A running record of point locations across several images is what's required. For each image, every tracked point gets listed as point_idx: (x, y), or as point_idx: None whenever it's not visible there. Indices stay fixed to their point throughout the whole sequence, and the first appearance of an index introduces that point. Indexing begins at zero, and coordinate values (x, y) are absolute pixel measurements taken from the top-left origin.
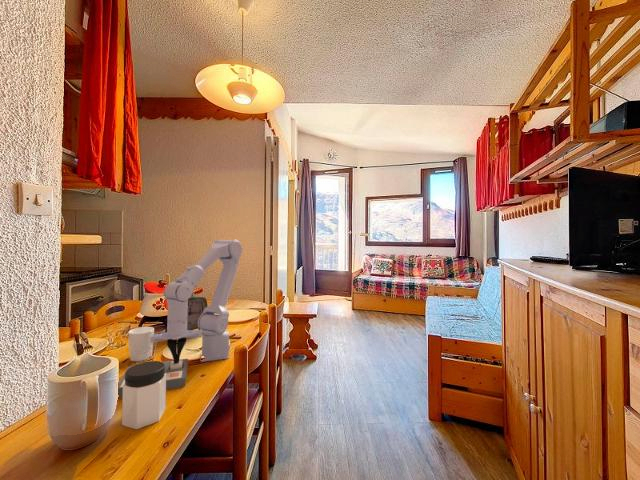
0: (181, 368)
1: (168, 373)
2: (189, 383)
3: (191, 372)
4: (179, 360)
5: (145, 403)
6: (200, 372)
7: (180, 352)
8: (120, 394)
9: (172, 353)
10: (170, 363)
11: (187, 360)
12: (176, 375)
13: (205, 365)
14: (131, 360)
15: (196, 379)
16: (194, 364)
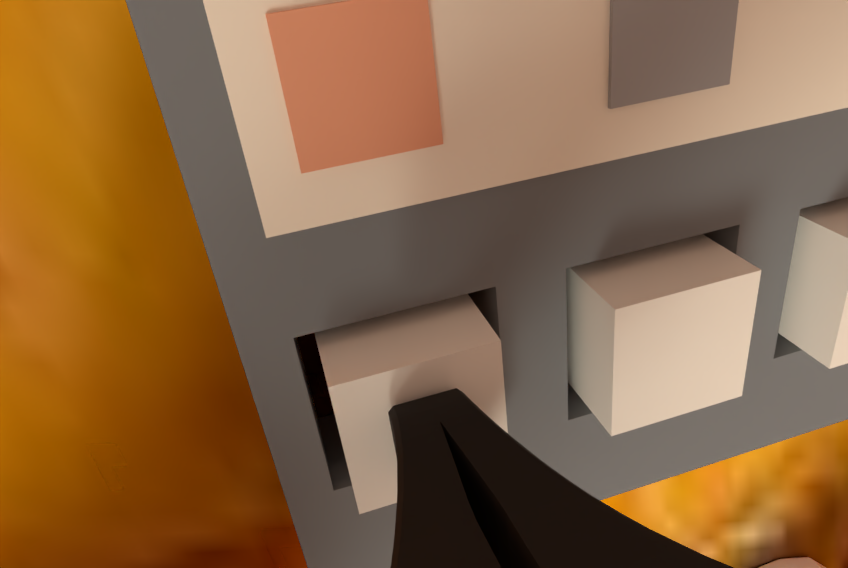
0: (313, 323)
1: (475, 164)
2: (76, 17)
3: (189, 362)
4: None
5: None
6: (41, 357)
7: (404, 544)
8: None
9: (568, 494)
10: None
11: (302, 547)
12: (315, 44)
13: (56, 532)
14: (820, 564)
15: (4, 143)
16: (228, 545)
